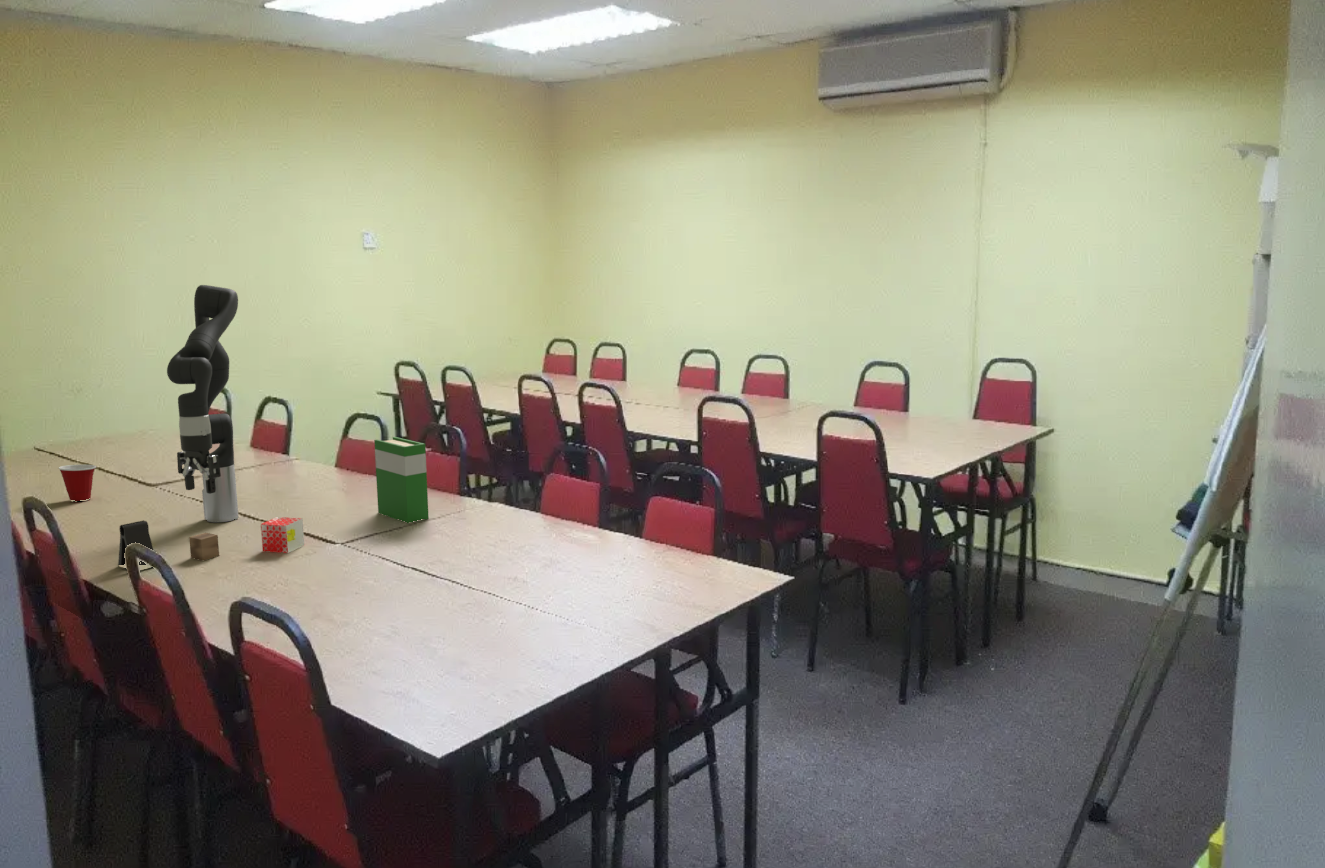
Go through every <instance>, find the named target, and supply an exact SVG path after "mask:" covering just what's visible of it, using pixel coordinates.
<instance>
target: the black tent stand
mask: <svg viewBox="0 0 1325 868" xmlns="http://www.w3.org/2000/svg"><path fill="white" fill-rule="evenodd" d="M118 530H119V535H120V537H119V550H118V563H117V565H124V564H125V558H124V553H125V548H126V547H127V545H129V544H131V543H135V542H136V543H140V544H142V545H144V546H146V547H148V548H150V549H152V550H154V547H153V543H152V539H151V535H150V531H149V523H148V521H147V520H138V521H134V522H129V523H124V524H120V525H119V529H118ZM140 562H141V564H140ZM140 562H139V565H146V564H145V563H144V562H142V561H140ZM124 570H126V568H125V569H124Z"/></svg>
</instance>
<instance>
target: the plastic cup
mask: <svg viewBox="0 0 1325 868" xmlns="http://www.w3.org/2000/svg"><path fill="white" fill-rule="evenodd" d="M96 468H97V466H96V465H93V464H69V465H61V466H59V467H58V469H59V471H60V474H61V477H62V479H63V483H64V487H65V490H66V493H67V494H68V499H69V500H75V501H80V500H86V499H89V498H90V499H91V497H92V489H93V488H92V487H93V482H94V481H93V477H94V472H95V469H96Z"/></svg>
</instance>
